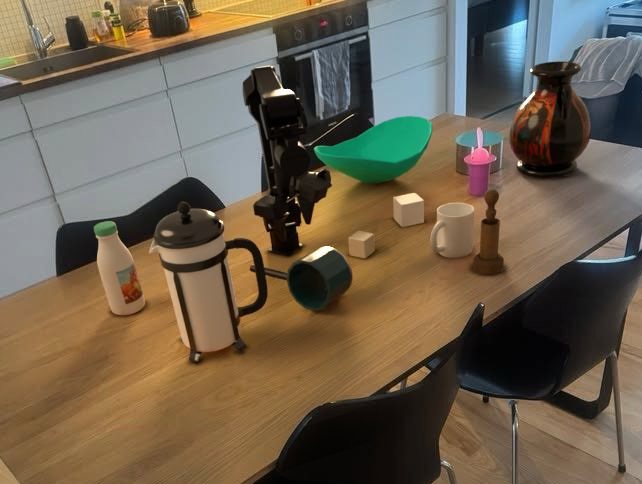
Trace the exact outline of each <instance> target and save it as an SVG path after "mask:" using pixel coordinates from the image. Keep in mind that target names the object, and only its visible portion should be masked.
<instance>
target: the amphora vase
mask: <svg viewBox="0 0 642 484" xmlns="http://www.w3.org/2000/svg"><path fill="white" fill-rule="evenodd" d="M581 71H582V66H581V65H580V64H579V63H577V62H572V61H547V62H541V63H538V64H535V65H533V66H532V67H531V68H530V70H529V73H530V74H531V76H534V77H536V86H535V88H534V90H533V91H532V93H531V94H530V95H529V96H528V97H527V98H526V99H525V100H524V101H523V102H522V103H521V104H520V106H519V107H518V108H517V110H516V112H515V113H514V115H513V118H512V120H511V126H510V129H509V137H508V138H509V146H510V149H511V151H512V153H513V154H514V156H515V157H516V158H517V159H518V161H517V163H516V170H517V171H518V172H519V174H522V175H523V176H525V177H529V178H534V179H541V180H547V179H550V180H551V179H558V178H563V177H566V176H568V175H570V174H572V173H574V172H575V171H576V169H577V167H578V163H577V161H576V160H577V159H578V158H579V157H580V156H581V155H582V154H583V153H584V151H585V150H586V149H587V148H588V145H589V143H590V139H591V134H592V130H591V129H592V126H591V117H590V113H589V111H588V110H589V109H588V108H587V105H586V104H585V102H584V101H583V100H582V98H581V97H580V96H579V95H578V94H577V92H576V91H575V89H574V88H573V86H572V81H573V77H574V76H575V75H577V74H579V73H580V72H581Z"/></svg>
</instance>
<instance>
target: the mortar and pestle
mask: <svg viewBox="0 0 642 484" xmlns="http://www.w3.org/2000/svg"><path fill="white" fill-rule="evenodd" d="M483 199H484V201H485V203H486V205H487V209H485V217H486V218H482V219H481V221H480V240H479V252H478V253H477V254H476V255H474V256H473V259H472V269H473V271H475V272H476V273H478V274H482V275H483V274H484V275H496V274H499V273H501V272H502V271H503V270H504V265H505V263H504V262H505V259H504V256H502V255H501V254H500V253H499V241H500V240H499V239H500V227H501V226H500V225H501V220H500V219H499V218H497V217H496V215H497V212H498V210H497V209H496V207H495V206H496V204H497V203H498V201H499V199H500V194H499V192H498V190H496V189H495V188H490V189H487V190H486V191H485V192H484V195H483Z"/></svg>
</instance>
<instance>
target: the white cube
mask: <svg viewBox="0 0 642 484" xmlns="http://www.w3.org/2000/svg"><path fill="white" fill-rule="evenodd" d="M392 203H393V219H394V221H396V222H397V223H398V225H400V227H401V228H405V227H410V226H414V225H419V224H424V223H425V200H424V199H423V198H422V197H420V196H419V194H418V193H416V192H412V193H411V192H410V193H406V194H403V195H402V194H401V195H396V196H393V197H392Z"/></svg>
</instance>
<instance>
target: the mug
mask: <svg viewBox="0 0 642 484" xmlns="http://www.w3.org/2000/svg"><path fill="white" fill-rule="evenodd" d="M474 223H475V207H474V206H473V205H472V204H469V203H466V202H449V203H445V204H442V205H440V206H439V207H437V209H436V223H435V225H434V226H433V228H432V230H431V232H430V237H429V244H430V248H431V249H432V250H433V252H436V253H438V254H439V255H440V256H442V257H444V258H450V259H457V258H458V259H460V258H464V257H466V256H469V255H470V254H471V253H472V252H473V248H474V228H475V226H474Z"/></svg>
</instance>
